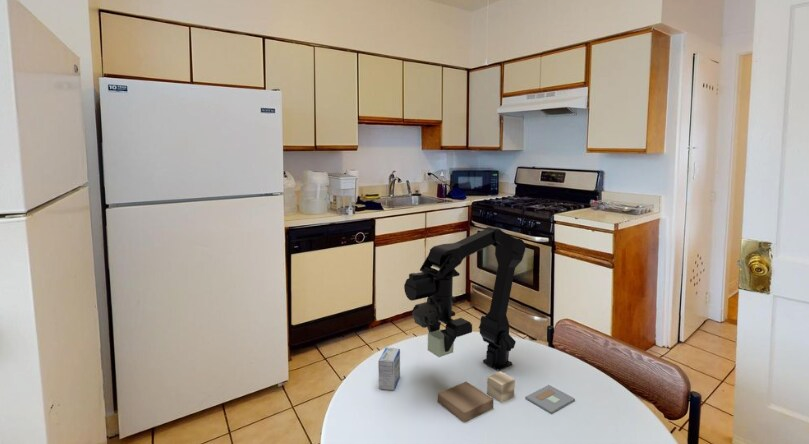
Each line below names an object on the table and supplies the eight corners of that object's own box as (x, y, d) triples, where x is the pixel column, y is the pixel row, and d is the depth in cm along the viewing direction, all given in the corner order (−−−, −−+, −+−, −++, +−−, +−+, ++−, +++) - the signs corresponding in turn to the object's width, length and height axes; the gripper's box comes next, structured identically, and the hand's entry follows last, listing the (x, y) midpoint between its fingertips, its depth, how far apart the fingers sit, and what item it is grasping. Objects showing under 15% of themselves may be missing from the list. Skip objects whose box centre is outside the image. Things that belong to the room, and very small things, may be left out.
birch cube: (499, 387, 116) (500, 371, 115) (513, 396, 112) (514, 379, 111) (486, 393, 113) (487, 376, 112) (501, 402, 109) (501, 385, 108)
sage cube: (441, 345, 119) (441, 328, 118) (453, 352, 115) (453, 335, 114) (427, 350, 116) (427, 333, 116) (439, 357, 112) (439, 339, 111)
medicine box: (394, 391, 114) (394, 361, 113) (378, 389, 115) (378, 359, 114) (400, 376, 122) (400, 348, 120) (385, 374, 123) (385, 346, 121)
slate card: (548, 386, 117) (548, 384, 116) (574, 400, 110) (575, 398, 110) (525, 398, 111) (525, 396, 111) (551, 414, 104) (551, 411, 104)
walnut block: (465, 391, 115) (466, 381, 114) (493, 409, 107) (493, 399, 106) (437, 403, 109) (437, 393, 109) (463, 424, 101) (464, 413, 101)
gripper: (397, 289, 116) (397, 342, 119) (440, 310, 101) (439, 370, 103) (429, 282, 122) (428, 332, 125) (474, 301, 107) (472, 358, 110)
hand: (440, 347), depth 116 cm, fingers closed on sage cube, 5 cm apart
